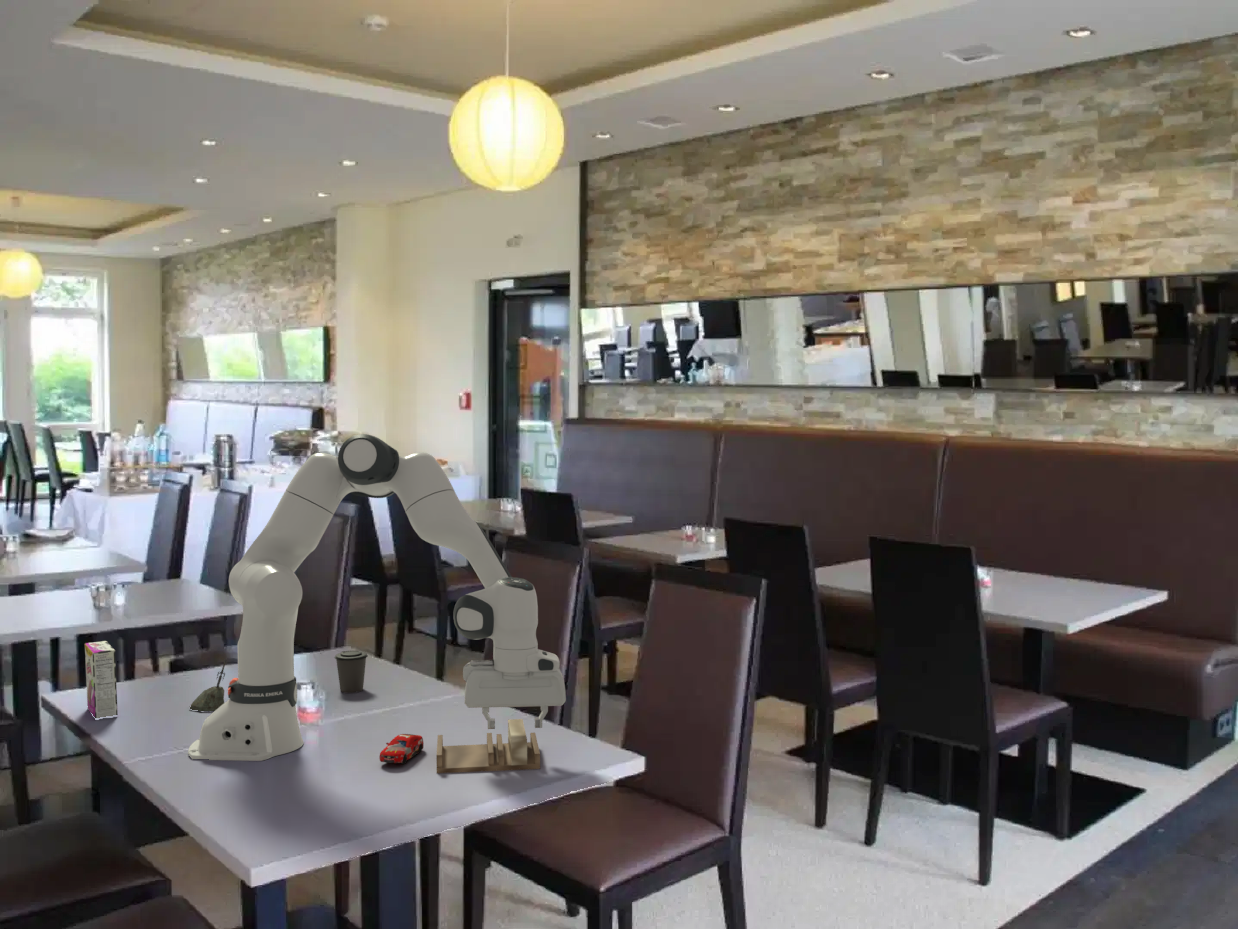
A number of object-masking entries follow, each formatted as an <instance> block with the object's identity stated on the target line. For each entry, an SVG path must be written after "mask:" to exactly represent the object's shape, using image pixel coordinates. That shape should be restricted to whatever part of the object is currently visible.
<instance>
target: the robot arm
mask: <svg viewBox="0 0 1238 929" xmlns="http://www.w3.org/2000/svg"><path fill="white" fill-rule="evenodd" d="M289 482H290V483H289V484H288V485H287V487H286V489H285V491H284V493H283V494H282V496H281V498H280V500H279V502H278V504H277V505H276V507H275V509H274V511H273V513H272V514H271V517H270V518H269V519H268V522H267V523H266V524H265V526H264V528H263V529H262V530H261V532H260V534H258V536H257V537H256V538H255V539H254V541H253V542H252V543H251V545H250V546H249V547H248V548H247V550H246V552H245V553H244V555H243V556H242V558H241V559H240V560H239V561H238V562H237V563H236V564H235V565H234V566H233V567H232V568H231V570H230V572H229V576H228V587H229V591H230V594H231V596H232V598H233V599H234V600H235V601H236V603H238V604H239V605H241V606H242V623H241V627H240V628H241V629H240V630H241V631H240V635H239V639H238V641H237V646H236V647H237V677H233V678H232V679H231V680H230V681H229V683H228V687H227V695H228V698H229V699H227V701H224V704H223V705H221V706H220V707H219V708H218V709H217V710H215V711H214V712H211V714H209V715H208V716H207V717H206V718H205V719H204V721H203V723H202V726H201V729H200V733H199V738H198V739H195V741H193V742H192V743H191V744H190V746H189V747H188V750H187V755H188V754H189V756H190V757H191V758H192V759H191V760H193V759H209V760H208V761H236V762H237V761H239V762H241V761H242V762H245V761H246V762H249V761H250V762H256V761H257V762H262V761H266V760H268V759H271V758H273V757H276V756H280V755H281V756H282V755H284V754H288V753H291V752H294V751H296V750H299V749H300V748H301V747H302V746H303V745H304V739H303V737H302V736H303V735H302V733H301V729H300V725H299V719H298V712H297V706H296V705H297V702H298V683H297V677H296V676H295V664H294V662H295V660H294V658H295V657H294V656H295V655H294V654H295V653H294V648H295V647H294V646H295V645H294V644H295V643H294V642H295V634H296V626H297V625H296V624H297V619H298V613H299V606H300V604H301V602H302V600H303V594H304V593H303V587H302V584H301V581H300V579H299V578H298V576H297V575H296V571H297V569H299V567H300V566H301V564H303V562H304V560H306V558H307V557H308V556H309V555H310V554H311V553H312V552H314V551H315V550H316V548H317V547H318V545H319V544H320V541H321V539H322V538H323V535H324V534H325V532H326V530H327V529H328V526H329V525H330V523H331V521H332V519H333V517H334V515H335V513H336V511H337V510H338V507H339V505H340V504H341V503H342V502H341V501H343V499H344V498H345V497H346V496H347V495H348V494H350V493H351V494H352V495H353V496H357V497H358V496H359V497H365V498H372V499H383V498H388V497H391V496H393V495H394V494H396V496H397V498H398V499H399V501H400V502H401V504H402V507H403V509H404V511H405V514H406V516H407V518H408V521H409V523H410V525H411V527H412V529H413V530H414V532H415V533H416V534H417V536H418V537H419V538H420V539H421V540H422V541H425V542H426V543H429V544H430V545H434V546H438V547H439V546H440V547H441V548H442V547H443V548H446V549H449V550H451V551H454V552H456V553H458V554H460V555H462V557H464V558H465V559H466V560H467V561H468V562H469V564H470V565H471V567H472V568H473V570H474V571H473V572H475V573H476V575H477V577H478V579H479V581H480V582H481V584H482V585H483V587H484V588H483V589H480V590H476V591H473V592H469V593H466V594H464V595H462V596H460V597H459V598H458V599H457V601H456V603H455V605H454V608H453V612H452V613H453V615H452V616H453V623H454V626H455V628H456V630H457V631H458V633H459V634H460V635H461V636H462V637H463V638H466V639H468V640H482V639H491V640H492V641H493V650H492V651H493V652H492V653H493V655H492V657H493V658H492V659H483V660H477V659H475V660H474V659H473V660H471V661H469V662H467V663H466V664H465V665H464V666H463V668H462V680H463V681H464V682H465V689H464V699H463V700H464V704H465V706H466V707H467V708H471V709H473V708H475V709H477V708H478V709H479V708H481V709H482V710H481V711H482V714H483V716H484V719H485V720H486V721H487V730H495V729H496V718H495V717H492V718H491V716H490V714H489V713H490V708H511V707H512V708H515V707H516V708H523V707H526V708H527V707H540V711H541V712H540V713H539V716H537V717H534V728H535V729H542V728H543V720H544V718H545V717H546V715H547V714H548V712H549V707H560V706H563V705H564V704H565V703H566V700H567V698H566V696H567V695H566V694H567V693H566V685H565V679H564V676H563V673H562V670H561V669H560V665H561V664H560V663H561V662H560V658H559V657H558V655H556V654H555V653H552V652H549V651H546V650H543V649H539V648H538V647H539V646H538V645H539V644H538V639H537V627H538V624H539V606H538V596H537V595H538V594H537V592H536V589H535V586H534V584H533V583H531V582H530V581H528V580H527V579H524V578H520V577H513V576H512V574H511V573H510V571H509V569H508V568H507V566H506V565H505V563H504V561H503V560H502V558H501V557H500V555H499V554H498V551H497V550H496V548H495V547H494V544H493V543H492V541H491V540H490V538H489V537H488V535H487V533H486V532H485V530H484V529H483V528H482V527H481V525H480V524H479V523H477V521H476V520H474V518H473V517H472V516H471V515H470V514H469V512H467V509H466V508H465V507H464V505H463V504H462V502H461V501H460V499H459V497H458V495H457V493H456V492H455V491H456V490H455V489H454V487H453V485H452V482H451V480H449V477H448V476H447V474H446V472H445V470H444V469H443V468H442V466H441V465H440V463H439V462H438V461H437V460H436V458H435V456H433V455H432V454H430V453H427V452H414V453H411V454H407V455H405V456H400V455H399V452H398V450H397V449H395V448H394V447H392V446H391V445H389V444H388V443H386V442H385V441H384V440H383V439H381V438H379V437H377V436H374V435H371V434H367V433H361V434H360V433H359V434H355V435H352V436H351V437H348V439H346V440H345V441H344V442H343V443H342V445H341V446H340V448H339V450H338V454H337V456H335V455H334V454H330V453H326V452H318V453H317V452H316V453H313V454H311V455H310V456H309V457H307V459H306V460H305V461H304V462H303V464H302V465H301V466H300V467H299V469H298V471H296V473H295V475H294V476H293V478H292V479H291V480H290V481H289Z"/></svg>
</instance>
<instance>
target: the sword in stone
mask: <svg viewBox="0 0 1238 929" xmlns="http://www.w3.org/2000/svg"><path fill="white" fill-rule="evenodd" d="M227 660H228V658H227V657H225V658H224V661H223V665H222V669H221V670H220V671H218V672H217V675H216V676H217V677H216V679H217V684H216V686H215V685H214V686H211V687H209V688H206V689H205V690H202V692H201V693H200V694H199V695H198V696H197V697H196V698H195V699H193V700H194V701H192V703H191V704H190V705H191V707H190V706H189V707H190V709H192V710H198V711H215V710H217V709H218V708H219V707H220V706H221V705H223V704H224V703H225V698H224V697H225V689H224V687H223V686H220V683H221V680H222V682H223V680H224V679H225V676H226V673H225V671H224V670H225V666H226V663H227ZM219 674H220V675H219ZM222 675H223V676H222Z"/></svg>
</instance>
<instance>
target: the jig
mask: <svg viewBox="0 0 1238 929" xmlns="http://www.w3.org/2000/svg"><path fill="white" fill-rule="evenodd" d="M529 734H530V737H529V740H530V741H527V765H512V764H511V757H510V751H509V745H508V742H505V743H504V742H503V738H502V737H503V736H502V734H501V733H497V734H496V743H494V742H493V733H492V732H486V743H484V744H483V743H481V744H461V745H459V744H458V745H444V738H443V737H444V735H443V734H438V735H437V743H436V758H435V759H436V774H449V773H451V774H453V773H456V774H457V773H476V772H477V773H479V772H499V771H500V772H501V771H502V772H503V771H522V770H524V771H525V770H527V771H528V770H540V769H541V753H540V748H539V743H538V739H537V734H536V732H530V733H529Z"/></svg>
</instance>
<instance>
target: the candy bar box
mask: <svg viewBox="0 0 1238 929" xmlns="http://www.w3.org/2000/svg"><path fill="white" fill-rule="evenodd" d="M84 655H85V656H84V657H85V677H86V680H85V681H86V683H85V684H86V699H87V700H86V701H87V703H86V704H87V706H88V707H87V710H88V709H89V711H90V712H91V713H92V714H93V716H94V717H95V718H100V717H106V716H113V715H118V690H117V668H116V650H115V649H114V648H113V646H111V644H110V643H109V642H108V641H107V640H102V641H94V642H85V643H84ZM89 711H88V712H89Z"/></svg>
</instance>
